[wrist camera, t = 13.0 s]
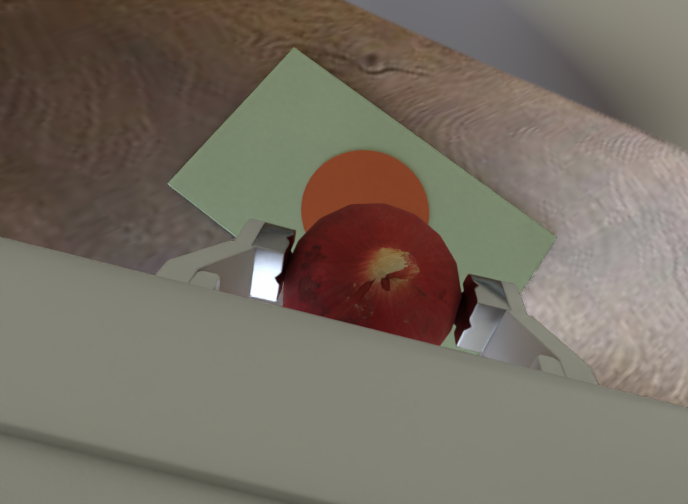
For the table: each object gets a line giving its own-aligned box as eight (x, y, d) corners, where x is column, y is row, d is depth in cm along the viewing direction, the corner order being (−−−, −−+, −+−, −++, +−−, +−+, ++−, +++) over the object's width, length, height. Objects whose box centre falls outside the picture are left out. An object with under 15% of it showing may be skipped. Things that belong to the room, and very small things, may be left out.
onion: (367, 404, 18) (403, 449, 10) (261, 308, 18) (215, 278, 10) (456, 295, 19) (553, 256, 11) (353, 208, 19) (375, 112, 11)
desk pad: (169, 186, 31) (166, 182, 30) (294, 51, 34) (293, 44, 33) (445, 400, 29) (449, 401, 28) (553, 239, 32) (559, 236, 31)
